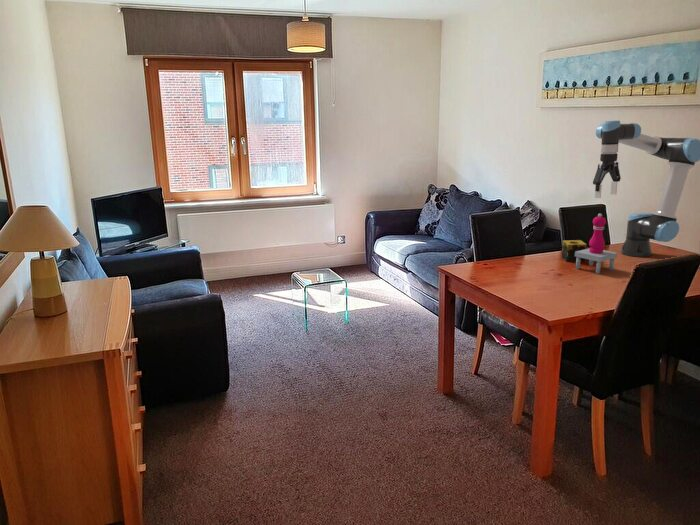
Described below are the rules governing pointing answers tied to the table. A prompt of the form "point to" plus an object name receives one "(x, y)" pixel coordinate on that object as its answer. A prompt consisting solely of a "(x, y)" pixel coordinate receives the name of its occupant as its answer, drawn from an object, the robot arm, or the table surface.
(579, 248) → the yellow and black cube
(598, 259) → the stool
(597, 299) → the table surface
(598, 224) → the pepper mill
